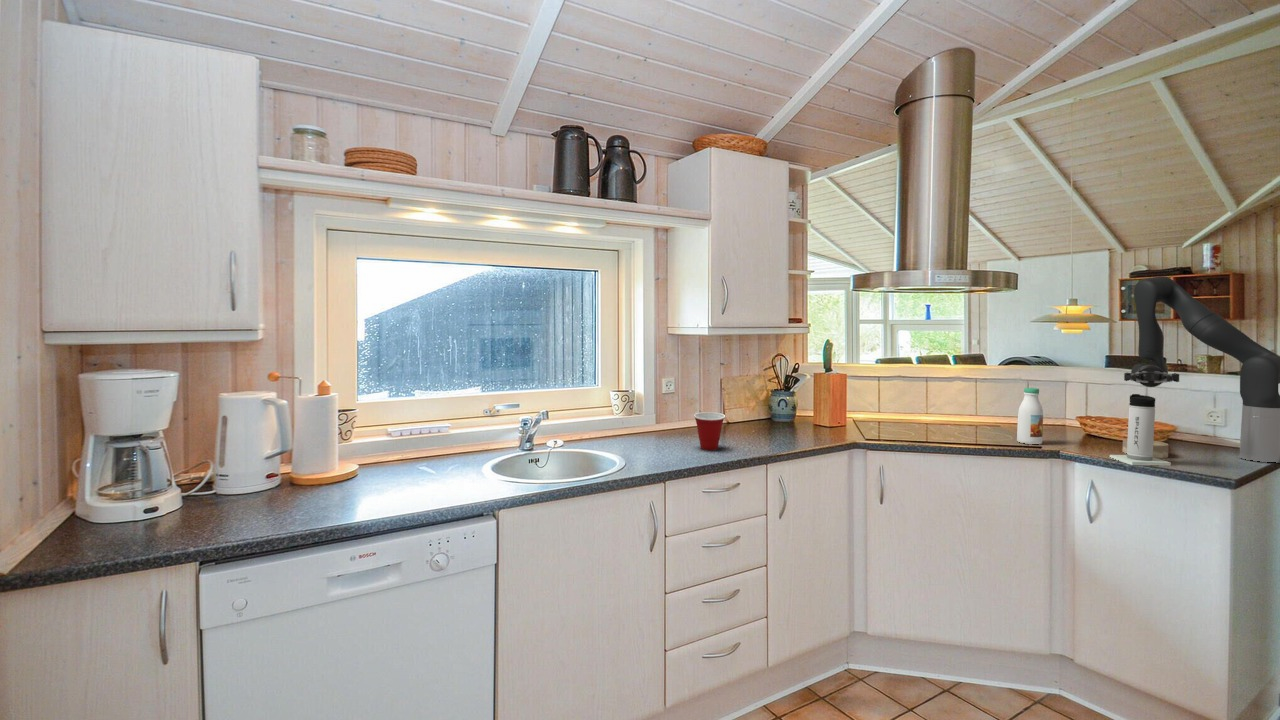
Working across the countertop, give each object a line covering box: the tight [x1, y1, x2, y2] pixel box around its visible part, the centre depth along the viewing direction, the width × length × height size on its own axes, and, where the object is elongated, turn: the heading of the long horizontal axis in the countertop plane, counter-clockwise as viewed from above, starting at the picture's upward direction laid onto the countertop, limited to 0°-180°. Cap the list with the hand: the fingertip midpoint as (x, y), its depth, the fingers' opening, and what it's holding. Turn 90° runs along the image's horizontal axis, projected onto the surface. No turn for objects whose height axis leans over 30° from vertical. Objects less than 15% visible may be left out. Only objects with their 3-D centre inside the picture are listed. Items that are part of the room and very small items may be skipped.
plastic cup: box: [693, 411, 726, 451], centre depth 207 cm, size 11×11×12 cm
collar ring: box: [1121, 438, 1170, 459], centre depth 200 cm, size 11×11×4 cm
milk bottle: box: [1016, 387, 1044, 445], centre depth 218 cm, size 8×8×20 cm
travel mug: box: [1126, 393, 1156, 461], centre depth 189 cm, size 6×7×20 cm
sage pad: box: [1109, 454, 1172, 467], centre depth 189 cm, size 11×10×1 cm
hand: (1151, 378), depth 200 cm, fingers open, 8 cm apart
